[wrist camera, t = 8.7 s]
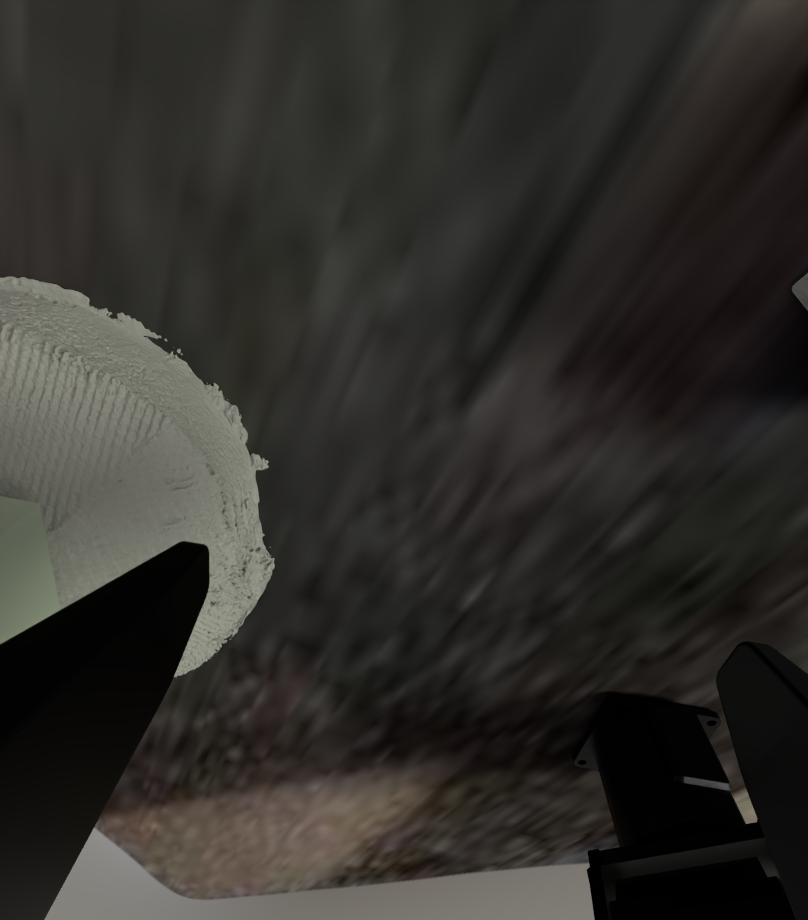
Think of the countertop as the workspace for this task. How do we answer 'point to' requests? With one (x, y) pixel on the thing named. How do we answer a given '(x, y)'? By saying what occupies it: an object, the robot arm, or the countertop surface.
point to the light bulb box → (802, 290)
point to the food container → (125, 455)
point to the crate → (24, 568)
